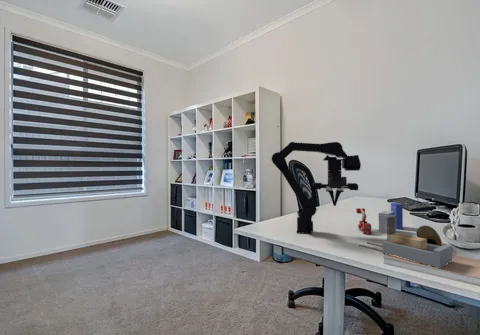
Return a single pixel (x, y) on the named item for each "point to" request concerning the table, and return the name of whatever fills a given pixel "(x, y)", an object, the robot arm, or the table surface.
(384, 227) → the medicine box
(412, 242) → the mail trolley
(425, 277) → the table surface
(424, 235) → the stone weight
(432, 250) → the tray
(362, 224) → the toy fire truck
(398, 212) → the walkman
